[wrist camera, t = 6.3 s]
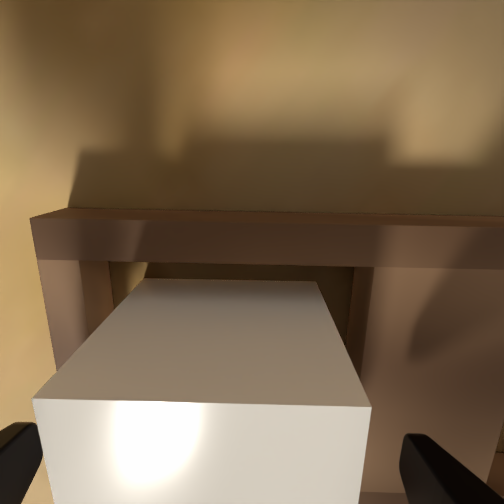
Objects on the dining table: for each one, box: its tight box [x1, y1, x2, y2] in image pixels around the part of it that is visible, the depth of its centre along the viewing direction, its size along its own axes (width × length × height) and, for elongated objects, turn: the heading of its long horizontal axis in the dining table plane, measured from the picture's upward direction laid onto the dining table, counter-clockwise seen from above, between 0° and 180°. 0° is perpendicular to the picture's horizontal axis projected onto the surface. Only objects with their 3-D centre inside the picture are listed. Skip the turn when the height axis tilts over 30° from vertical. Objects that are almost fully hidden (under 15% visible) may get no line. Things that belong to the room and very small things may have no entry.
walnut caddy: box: [30, 208, 504, 504], centre depth 9 cm, size 9×20×2 cm, turn 89°
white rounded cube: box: [32, 278, 372, 504], centre depth 8 cm, size 5×5×5 cm
